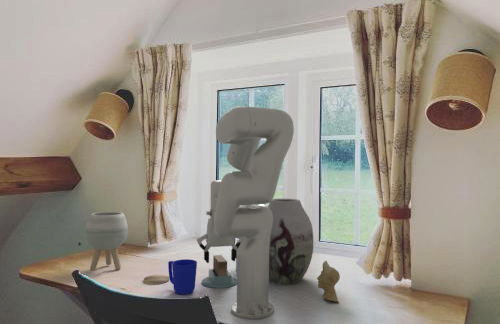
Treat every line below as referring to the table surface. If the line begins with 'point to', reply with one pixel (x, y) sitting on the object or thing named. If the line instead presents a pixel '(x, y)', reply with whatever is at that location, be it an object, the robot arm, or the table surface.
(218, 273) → the block
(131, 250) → the table surface
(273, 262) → the vase
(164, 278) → the cork lid
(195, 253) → the table surface
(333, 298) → the tan head bust
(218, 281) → the teal candle holder
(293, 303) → the table surface
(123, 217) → the planter
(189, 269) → the mug
